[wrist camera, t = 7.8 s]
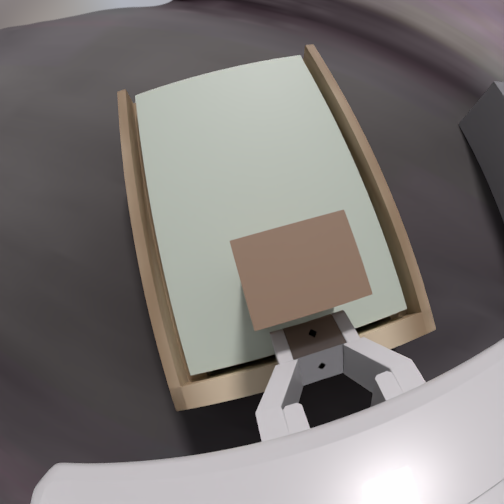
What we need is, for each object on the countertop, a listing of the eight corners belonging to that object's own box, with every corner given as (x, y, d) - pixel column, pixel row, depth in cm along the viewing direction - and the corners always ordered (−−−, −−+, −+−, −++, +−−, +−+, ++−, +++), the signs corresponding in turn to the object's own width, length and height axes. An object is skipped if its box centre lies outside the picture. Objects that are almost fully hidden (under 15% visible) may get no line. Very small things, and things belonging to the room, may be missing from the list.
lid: (195, 372, 16) (152, 401, 9) (140, 105, 20) (104, 34, 13) (398, 309, 17) (471, 298, 10) (298, 66, 21) (307, -11, 14)
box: (198, 389, 20) (176, 411, 14) (142, 134, 24) (117, 92, 19) (395, 329, 20) (436, 329, 15) (305, 92, 25) (313, 44, 19)
